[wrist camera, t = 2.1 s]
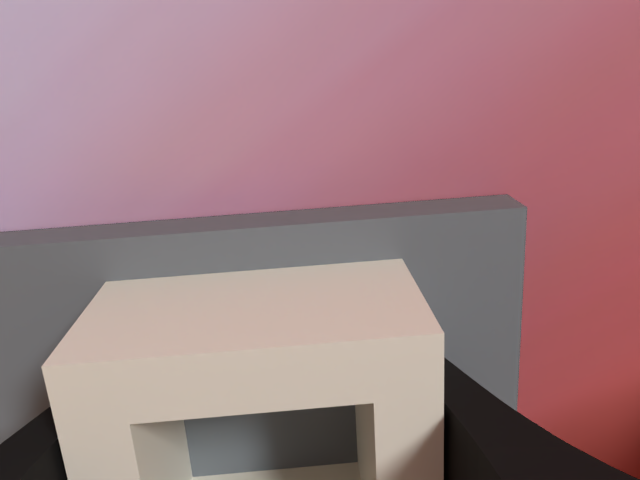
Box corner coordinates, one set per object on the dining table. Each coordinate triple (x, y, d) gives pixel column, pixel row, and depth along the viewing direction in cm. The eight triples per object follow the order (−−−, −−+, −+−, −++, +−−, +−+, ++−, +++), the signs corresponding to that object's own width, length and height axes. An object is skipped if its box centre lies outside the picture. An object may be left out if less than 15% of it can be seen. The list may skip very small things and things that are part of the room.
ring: (402, 258, 11) (444, 333, 8) (406, 496, 13) (442, 629, 10) (105, 281, 11) (40, 367, 8) (150, 520, 12) (111, 661, 10)
